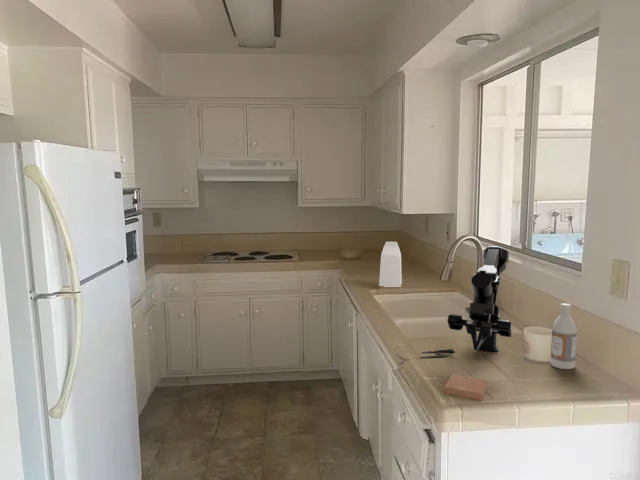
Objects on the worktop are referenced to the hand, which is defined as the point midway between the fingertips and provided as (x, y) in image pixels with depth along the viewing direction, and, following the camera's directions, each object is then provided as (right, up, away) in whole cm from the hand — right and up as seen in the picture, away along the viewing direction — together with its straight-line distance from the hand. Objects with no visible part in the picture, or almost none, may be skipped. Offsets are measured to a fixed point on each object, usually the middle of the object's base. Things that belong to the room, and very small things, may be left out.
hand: (475, 349), depth 148 cm
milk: (-7, +6, +128) cm, 128 cm away
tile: (-4, -8, -6) cm, 10 cm away
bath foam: (+30, -7, +8) cm, 32 cm away
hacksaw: (-12, -7, +16) cm, 21 cm away
